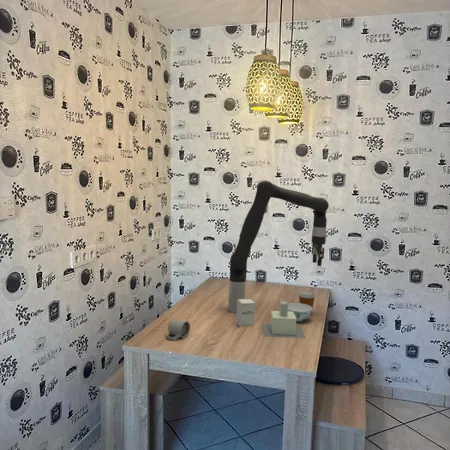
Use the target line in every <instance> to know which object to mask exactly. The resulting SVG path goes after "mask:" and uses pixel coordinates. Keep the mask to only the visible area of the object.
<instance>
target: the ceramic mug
mask: <svg viewBox="0 0 450 450" xmlns="http://www.w3.org/2000/svg"><path fill="white" fill-rule="evenodd" d="M167 329H168V332H167V335H166V337H167V339H168V340H170V341H175V340H177V339H179V338H180V339H186V338H187V337H188V335H189V334H190V331H191V325H190V322H189V321H187V320H181V319H172V320H171V321H170V322H169V324H168V328H167ZM170 335H171V336H173V337H170Z"/></svg>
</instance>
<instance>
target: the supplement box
mask: <svg viewBox="0 0 450 450" xmlns="http://www.w3.org/2000/svg"><path fill="white" fill-rule="evenodd" d="M255 309H256V302H255V301H253V300H252V299H251V298H245V299H237V313H236V321H235V322H236V324H237V325H238V327H243V326H254V325H255Z"/></svg>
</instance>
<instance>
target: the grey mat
mask: <svg viewBox="0 0 450 450" xmlns="http://www.w3.org/2000/svg"><path fill="white" fill-rule="evenodd" d="M260 326H261V332H262V335H263V337H265V338H266V337H267V338H283V339H285V338H290V339H307V337H306V335H305V333H304V330H303V328H302V326H301V324H296V333H295V335H279V334H272V331H271V327H270V323H260Z"/></svg>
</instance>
